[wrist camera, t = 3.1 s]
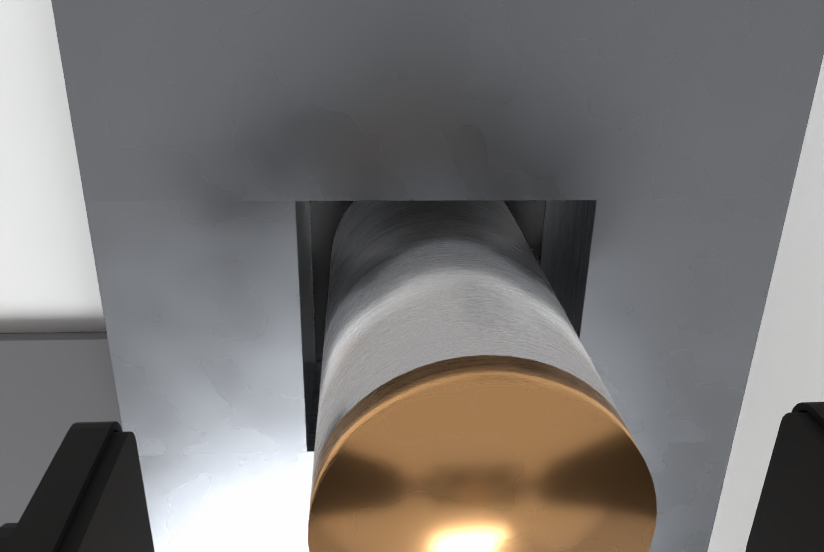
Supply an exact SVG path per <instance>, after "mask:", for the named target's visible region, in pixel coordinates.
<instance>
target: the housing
mask: <svg viewBox="0 0 824 552" xmlns="http://www.w3.org/2000/svg"><path fill="white" fill-rule="evenodd" d="M51 1H52V7H53V13H54V19H55V25H56V31H57V37H58V43H59V49H60V55H61V61H62V67H63V73H64V79H65V85H66V91H67V97H68V103H69V109H70V115H71V121H72V127H73V133H74V139H75V145H76V151H77V157H78V163H79V169H80V175H81V181H82V187H83V193H84V199H85V205H86V211H87V217H88V223H89V229H90V235H91V241H92V247H93V253H94V259H95V265H96V271H97V277H98V283H99V289H100V295H101V301H102V307H103V313H104V319H105V325H106V331H107V337H108V343H109V349H110V355H111V361H112V367H113V373H114V379H115V385H116V391H117V397H118V403H119V409H120V415H121V421H122V427H123V432H128V431H131V432H133V433H134V435H135V438H136V443H137V449H138V455H139V460H140V466H141V472H142V478H143V484H144V490H145V496H146V502H147V508H148V514H149V520H150V526H151V532H152V538H153V544H154V550H155V552H309V548H308V520H309V508H310V497H311V485H312V474H313V462H314V451H315V439H316V428H317V416H318V404H319V393H320V381H321V370H322V361H316V350H315V324H314V298H313V273H312V247H311V221H310V201H446V200H546V207H545V217H544V228H543V238H542V249H541V259H540V267H541V269H542V270H543V272H544V274H545V276H546V278H547V280H548V282H549V283H550V285H551V287H552V289H553V291H554V293H555V295H556V296H557V298H558V300H559V302H560V304H561V306H562V308H563V309H564V311H565V313H566V315H567V317H568V319H569V321H570V322H571V324H572V326H573V328H574V330H575V332H576V334H577V335H578V337H579V339H580V341H581V343H582V345H583V347H584V348H585V350H586V352H587V354H588V356H589V358H590V360H591V361H592V363H593V365H594V367H595V369H596V371H597V373H598V374H599V376H600V378H601V380H602V382H603V384H604V386H605V387H606V389H607V391H608V393H609V395H610V397H611V399H612V400H613V402H614V404H615V406H616V408H617V410H618V412H619V413H620V415H621V417H622V419H623V421H624V423H625V425H626V426H627V428H628V430H629V432H630V434H631V436H632V438H633V439H634V441H635V443H636V445H637V447H638V449H639V451H640V452H641V454H642V456H643V458H644V460H645V462H646V464H647V467H648V469H649V471H650V474H651V476H652V479H653V484H654V488H655V492H656V503H657V517H656V526H655V532H654V536H653V539H652V543H651V547H650V549H649V551H648V552H707V550H708V546H709V542H710V537H711V533H712V529H713V525H714V520H715V516H716V512H717V508H718V503H719V499H720V495H721V490H722V486H723V482H724V478H725V473H726V469H727V465H728V461H729V456H730V452H731V448H732V443H733V439H734V435H735V431H736V426H737V422H738V418H739V414H740V409H741V405H742V401H743V396H744V392H745V388H746V384H747V379H748V375H749V371H750V367H751V362H752V358H753V354H754V349H755V345H756V341H757V337H758V332H759V328H760V324H761V320H762V315H763V311H764V307H765V302H766V298H767V294H768V290H769V285H770V281H771V277H772V273H773V268H774V264H775V260H776V255H777V251H778V247H779V243H780V238H781V234H782V230H783V226H784V221H785V217H786V213H787V208H788V204H789V200H790V196H791V191H792V187H793V183H794V179H795V174H796V170H797V166H798V161H799V157H800V153H801V149H802V144H803V140H804V136H805V132H806V127H807V123H808V119H809V114H810V110H811V106H812V102H813V97H814V93H815V89H816V85H817V80H818V76H819V72H820V67H821V63H822V59H823V55H824V0H51Z"/></svg>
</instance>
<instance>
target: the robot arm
mask: <svg viewBox="0 0 824 552" xmlns="http://www.w3.org/2000/svg"><path fill="white" fill-rule="evenodd" d="M0 552H155V550H154V544H153V538H152V532H151V526H150V520H149V514H148V508H147V502H146V496H145V490H144V484H143V478H142V472H141V466H140V460H139V455H138V449H137V443H136V438H135V435H134V433H133V432H131V431H128V432H122V428H121V426H120V424H119V423H118V422H116V421H107V422H76V423H74V424H72V426H71V427H70V428H69V430H68V432H67V434H66V435H65V437H64V439H63V441H62V443H61V445H60V447H59V448H58V450H57V452H56V454H55V456H54V458H53V459H52V461H51V463H50V465H49V467H48V469H47V470H46V472H45V474H44V476H43V478H42V480H41V481H40V483H39V485H38V487H37V489H36V491H35V492H34V494H33V496H32V498H31V500H30V502H29V503H28V505H27V507H26V509H25V511H24V513H23V514H22V516H21V518H20V520H19V522H18V523H5V524H4V525H2V526H1V527H0ZM746 552H824V402H802V403H799V404H797V405H796V406H795V407H794V408H793V410H792V412H791V413H787V414H785V416H784V417H783V418H782V421H781V424H780V427H779V431H778V435H777V438H776V442H775V445H774V449H773V453H772V456H771V460H770V463H769V467H768V471H767V474H766V478H765V481H764V485H763V489H762V492H761V496H760V500H759V503H758V507H757V510H756V514H755V518H754V521H753V525H752V528H751V532H750V536H749V539H748V543H747V546H746Z"/></svg>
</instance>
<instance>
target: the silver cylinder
mask: <svg viewBox="0 0 824 552" xmlns="http://www.w3.org/2000/svg"><path fill="white" fill-rule="evenodd" d="M656 517H657V503H656V492H655V488H654V484H653V479H652V476H651V474H650V471H649V469H648V467H647V464H646V462H645V460H644V458H643V456H642V454H641V452H640V451H639V449H638V447H637V445H636V443H635V441H634V439H633V438H632V436H631V434H630V432H629V430H628V428H627V426H626V425H625V423H624V421H623V419H622V417H621V415H620V413H619V412H618V410H617V408H616V406H615V404H614V402H613V400H612V399H611V397H610V395H609V393H608V391H607V389H606V387H605V386H604V384H603V382H602V380H601V378H600V376H599V374H598V373H597V371H596V369H595V367H594V365H593V363H592V361H591V360H590V358H589V356H588V354H587V352H586V350H585V348H584V347H583V345H582V343H581V341H580V339H579V337H578V335H577V334H576V332H575V330H574V328H573V326H572V324H571V322H570V321H569V319H568V317H567V315H566V313H565V311H564V309H563V308H562V306H561V304H560V302H559V300H558V298H557V296H556V295H555V293H554V291H553V289H552V287H551V285H550V283H549V282H548V280H547V278H546V276H545V274H544V272H543V270H542V269H541V267H540V265H539V263H538V261H537V259H536V257H535V256H534V254H533V252H532V250H531V248H530V246H529V244H528V243H527V241H526V239H525V237H524V235H523V233H522V231H521V230H520V228H519V226H518V224H517V222H516V220H515V218H514V217H513V215H512V213H511V211H510V210H509V208H508V207H507V205H506V204H505V203H504V201H503V200H446V201H354V202H353V203H352V204H351V205H350V207H349V208H348V209H347V211H346V212H345V214H344V215H343V217H342V219H341V221H340V223H339V225H338V228H337V231H336V234H335V237H334V241H333V246H332V255H331V266H330V278H329V289H328V301H327V312H326V324H325V335H324V347H323V358H322V370H321V381H320V393H319V404H318V416H317V428H316V439H315V451H314V462H313V474H312V485H311V497H310V508H309V520H308V548H309V552H648V551H649V549H650V547H651V543H652V539H653V536H654V532H655V526H656Z"/></svg>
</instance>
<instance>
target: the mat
mask: <svg viewBox="0 0 824 552" xmlns="http://www.w3.org/2000/svg"><path fill="white" fill-rule="evenodd" d="M107 421H116V422H118V423H119V424H120V426H121V428H122V432H123V427H122V421H121V415H120V409H119V403H118V397H117V391H116V385H115V379H114V373H113V367H112V361H111V355H110V349H109V343H108V337H107V332H79V333H5V334H0V527H1V526H2V525H4V524H5V523H18V522H19V520H20V518H21V516H22V514H23V513H24V511H25V509H26V507H27V505H28V503H29V502H30V500H31V498H32V496H33V494H34V492H35V491H36V489H37V487H38V485H39V483H40V481H41V480H42V478H43V476H44V474H45V472H46V470H47V469H48V467H49V465H50V463H51V461H52V459H53V458H54V456H55V454H56V452H57V450H58V448H59V447H60V445H61V443H62V441H63V439H64V437H65V435H66V434H67V432H68V430H69V428H70V427H71V426H72V424H74V423H76V422H107Z"/></svg>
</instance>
